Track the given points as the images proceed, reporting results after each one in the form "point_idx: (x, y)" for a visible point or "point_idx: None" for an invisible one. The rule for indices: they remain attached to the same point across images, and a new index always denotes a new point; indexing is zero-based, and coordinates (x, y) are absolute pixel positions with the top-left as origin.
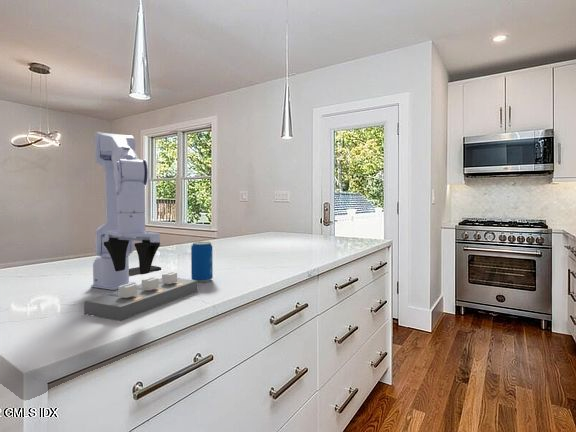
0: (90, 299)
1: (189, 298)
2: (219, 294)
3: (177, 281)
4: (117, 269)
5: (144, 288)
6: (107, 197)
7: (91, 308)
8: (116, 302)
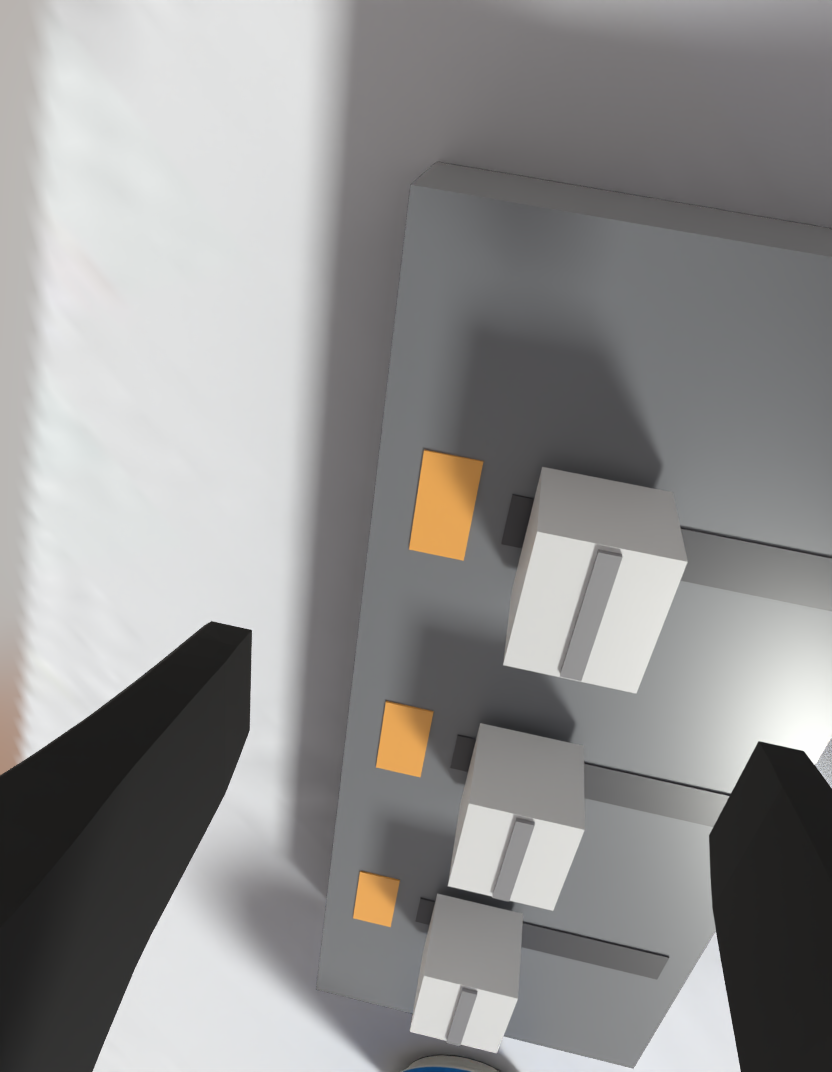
0: None
1: (281, 777)
2: None
3: None
4: (762, 766)
5: (547, 748)
6: None
7: None
8: (585, 337)
